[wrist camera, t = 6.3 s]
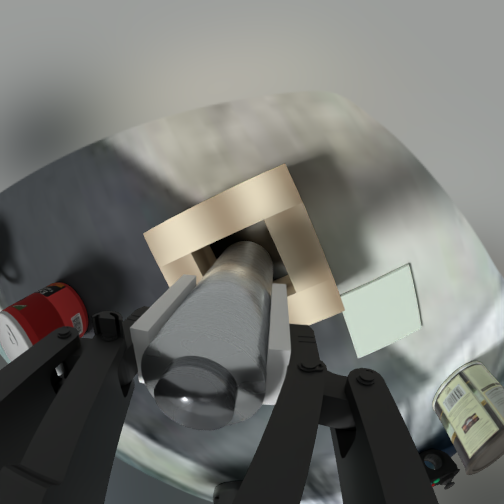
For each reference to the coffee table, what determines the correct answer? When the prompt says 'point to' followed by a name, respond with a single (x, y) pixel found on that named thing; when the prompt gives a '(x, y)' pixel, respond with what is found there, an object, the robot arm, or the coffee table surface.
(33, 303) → the canned food
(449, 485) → the controller
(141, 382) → the robot arm
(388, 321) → the pad
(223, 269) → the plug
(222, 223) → the housing
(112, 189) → the coffee table surface
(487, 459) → the coffee can
